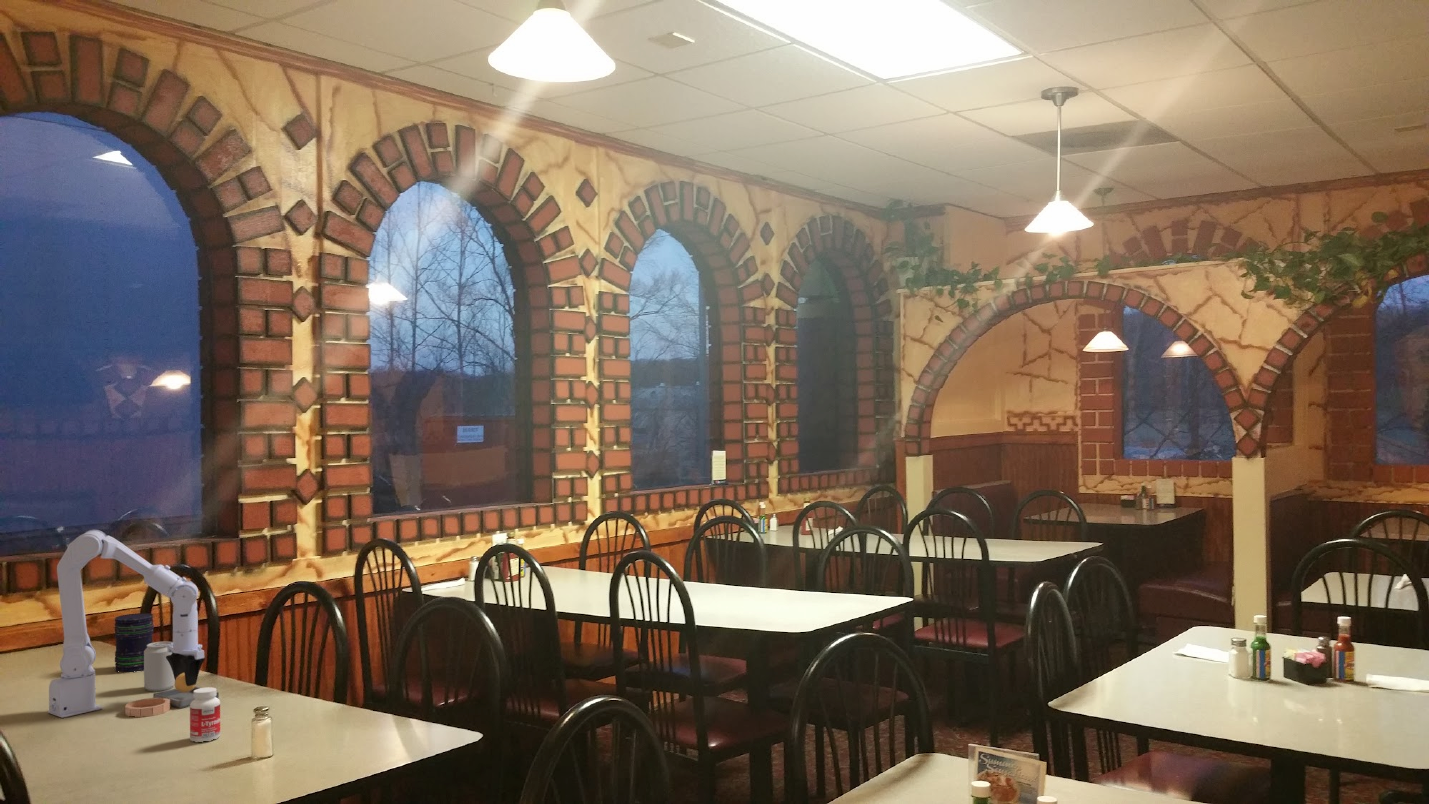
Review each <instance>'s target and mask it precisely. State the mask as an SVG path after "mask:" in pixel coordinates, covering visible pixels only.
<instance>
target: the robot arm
mask: <svg viewBox="0 0 1429 804" xmlns="http://www.w3.org/2000/svg"><path fill="white" fill-rule="evenodd" d="M100 554H101V556H100V559H107V560H108V559H112V560H113V559H114V560H116V561H118V562H120V563H122V564H123V565H125V566H127V568H130V569H132V570H133V571H134V572H137V573H138V574H139V575H142V576H143V579H144V583H145V584H146V585H147V586H149V587H150V588H152V589H153V590H154V591H157V592H158V593H159V594H161V595H163V596H164V597H165V598H170V601H171V604H173V612H172V643H173V644H168V645H167V652H172V654H171V655H168V656H166V659H167V660H168V662H169V664H170V666H171V668H172V671H173V675H174V678H175V680H176V678H177V677H178V676H179V675H180V674H182V673H185V681H186V685H187V686H191V685H196V686H197V681H198V678H199V673H200V670H201V668H202V665H203V663H204V662H205V661H206V657H205V650H203V649H202V648H203V644H200V643H199V634H198V633H199V632H198V631H199V623H198V622H199V621H198V620H199V617H198V615H199V614H198V613H199V612H198V604H197V602H198V601H197V599H198V597H199V589H198V587H197V585H196V584H195V583H194V582H193V581H191V580H187V578H186V577H185V576H182V577H181V576H180V575H178V574H176V573H175V572H173V571H172V570H170V569H171V566H170V565H168V564H165V565H163V564H152V563H150V562H149V561H147V560H146V559H145V558H143V557H142V556H140V555H139V554H138V553H137V552H135V551H133V550H132V549H131V548H130V547H127V546H126V545H125V544H124V543H122V542H120V541H119V540H118V539H116V538H115V537H113V536H111V535H107V534H106V533H105V532H103V531H101V530H99V529H90V530H87V531H85V532H84V533H83V534H81V535H79V536H77V537H76V538H75V539H73V540H72V541H71V542H70V543H69V544H68V546H67V548H66V550H65V552H64V553H63V554H62V557H61V558H60V560H59V562H58V563H57V565H56V572H57V582H58V584H57V585H58V590H59V591H58V593H59V601H60V611H61V620H62V628H63V646H62V657H61V659H60V662H59V668H60V671H61V674H60V675H61V676H60V677H58V678H55V679H52V680H51V681H50V682H49V685H48V711H47V713H48V714H51V715H54V716H56V717H59V718H61V719H63V718H68V717H72V716H76V715H81V714H84V713H85V714H86V713H90V712H93V711H94V712H95V711H98V710H102V709H103V707H104V706H102V705H98V704H96V669H94V668H93V666H92V664H94V662H95V660H96V657H97V653H96V650H95V648H94V647H93V646H92V643H91V638H90V635H89V634H88V629H87V618H86V611H85V601H84V600H85V599H84V590H83V582H82V581H83V580H82V573H81V570H82V569H83V568H85V566H86V565H87V564H88V563H89V562H90V561H91V560H92V559H94V558H97V557H98V556H99V555H100Z"/></svg>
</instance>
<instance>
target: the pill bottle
mask: <svg viewBox="0 0 1429 804" xmlns="http://www.w3.org/2000/svg"><path fill="white" fill-rule="evenodd" d="M216 692H217V688H216V687H211V686H210V687H208V686H207V687H206V686H205V687H201V688H200V689H196V690H194V695H193V696H194V698H195V700H193V701H192V702H191V704H190V707H189V739H190V741H191V742H193V741H195V742H194V743H198V742H202V741H209V742H212V741H211V740H213V739H216V740H217V738H218V737H219V736H220V737H221V700H220V698H219V699H218V698H216V697H215V696H216V695H217V694H216ZM220 737H219V738H220ZM219 738H218V739H219ZM196 741H197V742H196ZM213 741H214V740H213ZM202 743H203V742H202Z"/></svg>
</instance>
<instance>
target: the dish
mask: <svg viewBox="0 0 1429 804" xmlns="http://www.w3.org/2000/svg"><path fill="white" fill-rule="evenodd" d="M124 708H125V710H124V711H125V714H126V715H127V717H129V716H135V717H134V718H144V717H143V716H146V717H153V716H158V715H162V714H164V713H167V712H169V711H170V709H171V706H170V699H167V698H153V697H150V698H148V697H147V698H142V699H138V700H137V699H136V700H133V701H130V702H128V703H126V704H125V706H124ZM157 714H158V715H157ZM126 715H125V716H126Z"/></svg>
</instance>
